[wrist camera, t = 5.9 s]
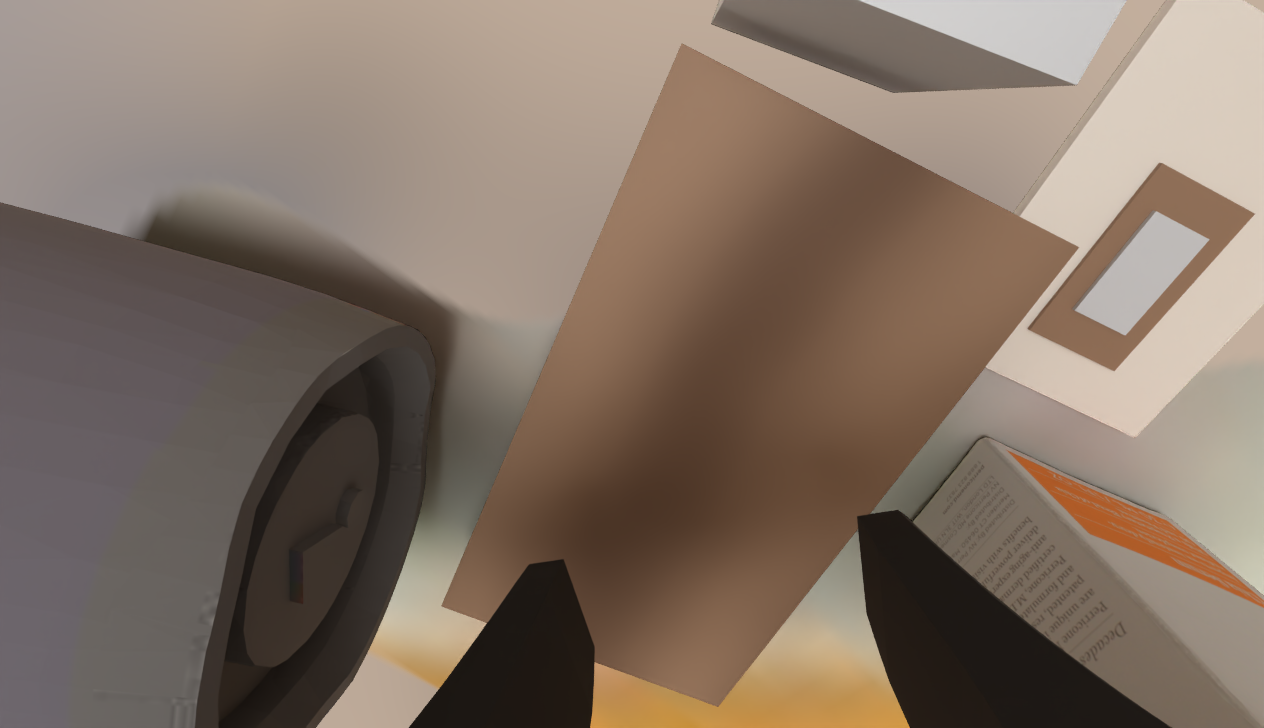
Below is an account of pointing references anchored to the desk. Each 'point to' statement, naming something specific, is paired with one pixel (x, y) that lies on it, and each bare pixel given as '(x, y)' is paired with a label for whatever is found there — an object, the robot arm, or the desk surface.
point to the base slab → (744, 375)
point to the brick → (932, 39)
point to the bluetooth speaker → (193, 484)
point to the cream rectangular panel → (1152, 220)
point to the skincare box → (1108, 586)
